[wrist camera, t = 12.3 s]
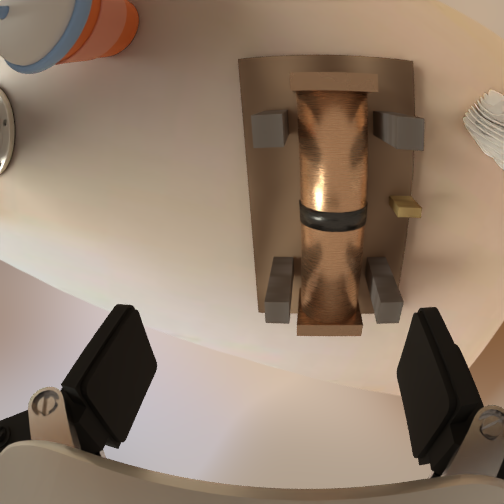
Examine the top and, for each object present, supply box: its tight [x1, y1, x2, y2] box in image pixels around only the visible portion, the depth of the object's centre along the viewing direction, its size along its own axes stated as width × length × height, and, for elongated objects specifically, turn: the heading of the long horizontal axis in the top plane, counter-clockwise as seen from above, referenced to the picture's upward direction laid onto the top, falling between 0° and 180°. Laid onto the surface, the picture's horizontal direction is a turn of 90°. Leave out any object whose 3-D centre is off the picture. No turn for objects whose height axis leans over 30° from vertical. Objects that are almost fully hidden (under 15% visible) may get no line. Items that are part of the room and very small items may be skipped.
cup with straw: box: [0, 0, 139, 74], centre depth 14 cm, size 9×9×18 cm
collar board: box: [238, 55, 424, 324], centre depth 24 cm, size 14×24×8 cm, turn 4°
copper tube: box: [289, 72, 379, 336], centre depth 24 cm, size 20×6×6 cm, turn 4°
